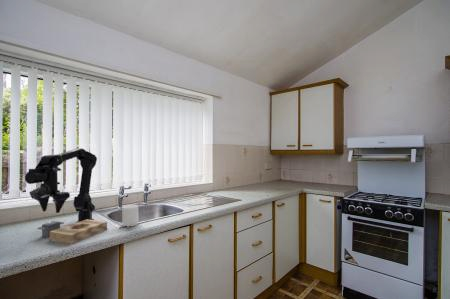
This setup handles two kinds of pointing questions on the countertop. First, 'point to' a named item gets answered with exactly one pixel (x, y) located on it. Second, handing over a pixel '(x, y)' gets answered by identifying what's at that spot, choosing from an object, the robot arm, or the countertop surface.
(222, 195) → the countertop surface
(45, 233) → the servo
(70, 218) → the countertop surface
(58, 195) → the robot arm
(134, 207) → the mug
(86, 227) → the chassis board
